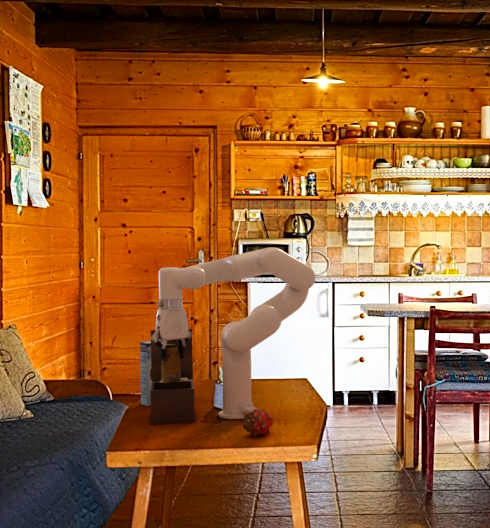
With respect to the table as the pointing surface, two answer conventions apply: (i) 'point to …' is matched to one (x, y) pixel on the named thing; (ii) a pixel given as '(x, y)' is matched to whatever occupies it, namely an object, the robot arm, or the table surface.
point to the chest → (172, 402)
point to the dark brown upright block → (185, 363)
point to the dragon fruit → (258, 422)
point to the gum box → (146, 373)
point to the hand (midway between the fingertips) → (172, 358)
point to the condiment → (171, 365)
